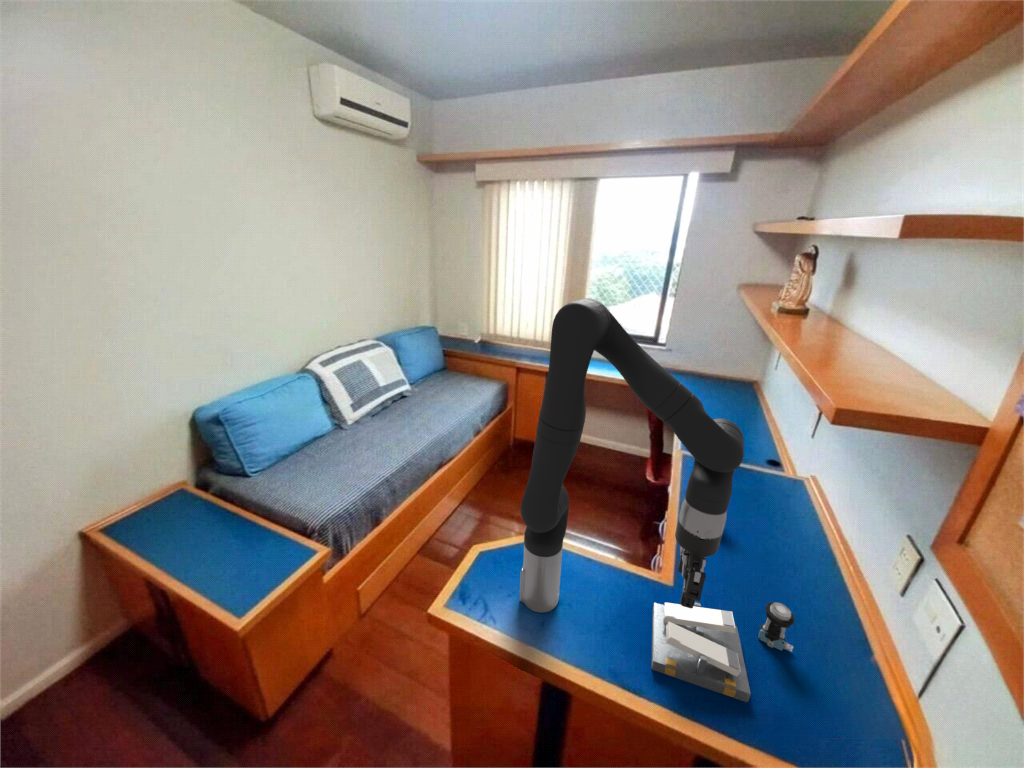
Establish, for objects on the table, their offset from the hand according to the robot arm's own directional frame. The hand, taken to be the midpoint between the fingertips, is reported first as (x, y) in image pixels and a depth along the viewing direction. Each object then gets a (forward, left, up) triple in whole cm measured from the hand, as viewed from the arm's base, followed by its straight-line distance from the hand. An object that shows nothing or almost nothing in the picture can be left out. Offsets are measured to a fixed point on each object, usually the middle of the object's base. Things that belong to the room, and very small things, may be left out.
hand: (684, 588), depth 77 cm
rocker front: (+5, 0, -14) cm, 15 cm away
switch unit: (+5, +3, -20) cm, 21 cm away
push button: (+22, +12, -20) cm, 32 cm away
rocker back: (+5, +7, -14) cm, 17 cm away
